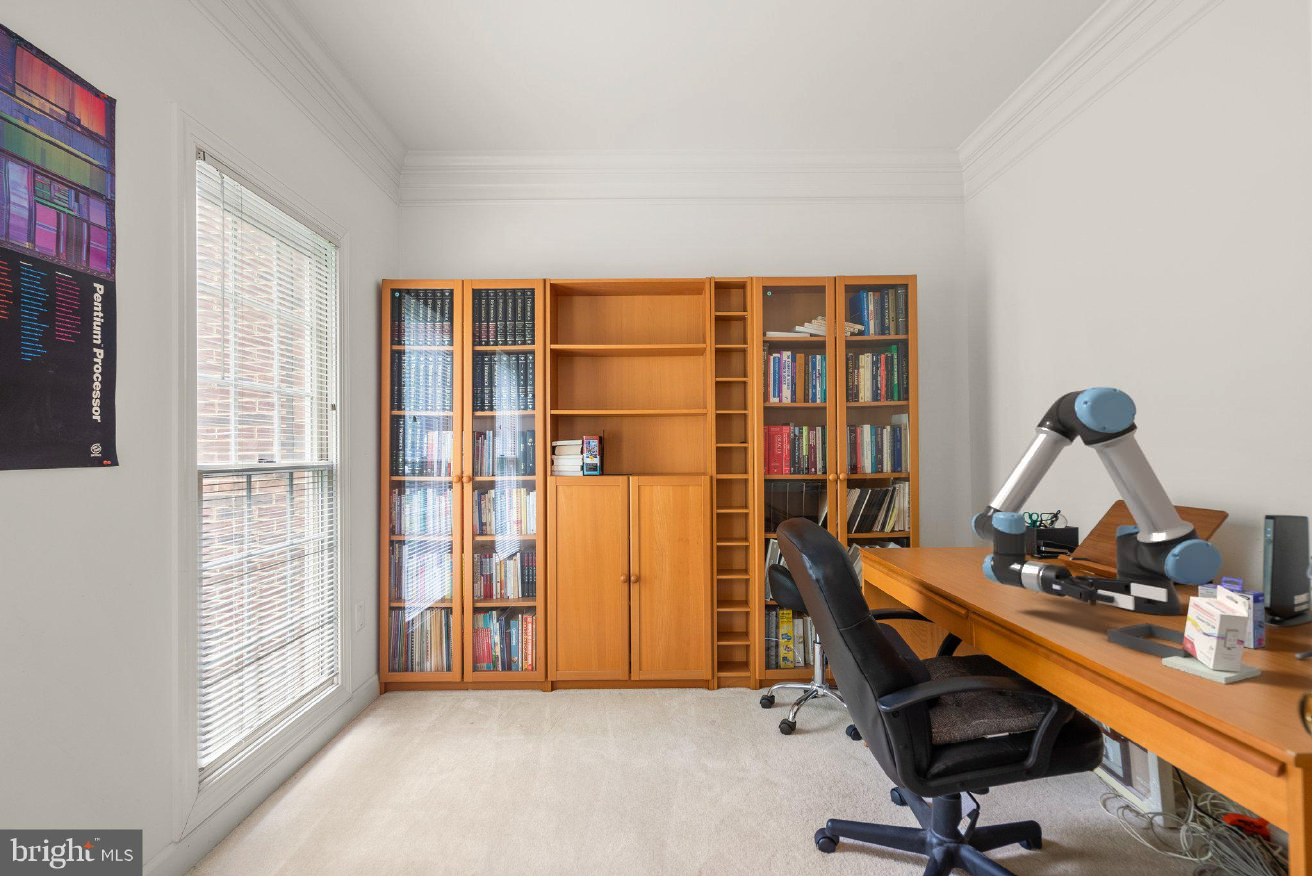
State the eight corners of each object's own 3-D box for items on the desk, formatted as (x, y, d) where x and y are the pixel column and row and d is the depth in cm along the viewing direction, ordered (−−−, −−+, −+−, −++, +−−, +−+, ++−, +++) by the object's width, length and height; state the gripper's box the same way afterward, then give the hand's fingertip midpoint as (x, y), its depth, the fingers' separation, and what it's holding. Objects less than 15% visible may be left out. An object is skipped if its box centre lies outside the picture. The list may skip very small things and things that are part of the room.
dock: (1147, 633, 134) (1147, 623, 134) (1224, 654, 121) (1224, 642, 121) (1107, 640, 129) (1107, 630, 129) (1183, 663, 116) (1183, 651, 116)
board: (1197, 656, 119) (1197, 651, 119) (1260, 674, 110) (1260, 668, 110) (1162, 664, 115) (1161, 658, 115) (1224, 684, 106) (1224, 677, 106)
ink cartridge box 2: (1267, 646, 125) (1266, 582, 125) (1255, 650, 123) (1254, 584, 123) (1209, 633, 134) (1208, 573, 134) (1197, 636, 132) (1196, 575, 132)
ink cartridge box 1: (1180, 647, 117) (1190, 581, 115) (1207, 650, 116) (1218, 583, 114) (1211, 670, 109) (1222, 599, 107) (1241, 673, 108) (1253, 601, 106)
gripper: (1077, 587, 146) (1179, 608, 127) (1017, 599, 136) (1119, 624, 116) (1076, 559, 146) (1178, 576, 127) (1016, 569, 136) (1118, 588, 117)
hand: (1150, 599), depth 122 cm, fingers open, 13 cm apart
